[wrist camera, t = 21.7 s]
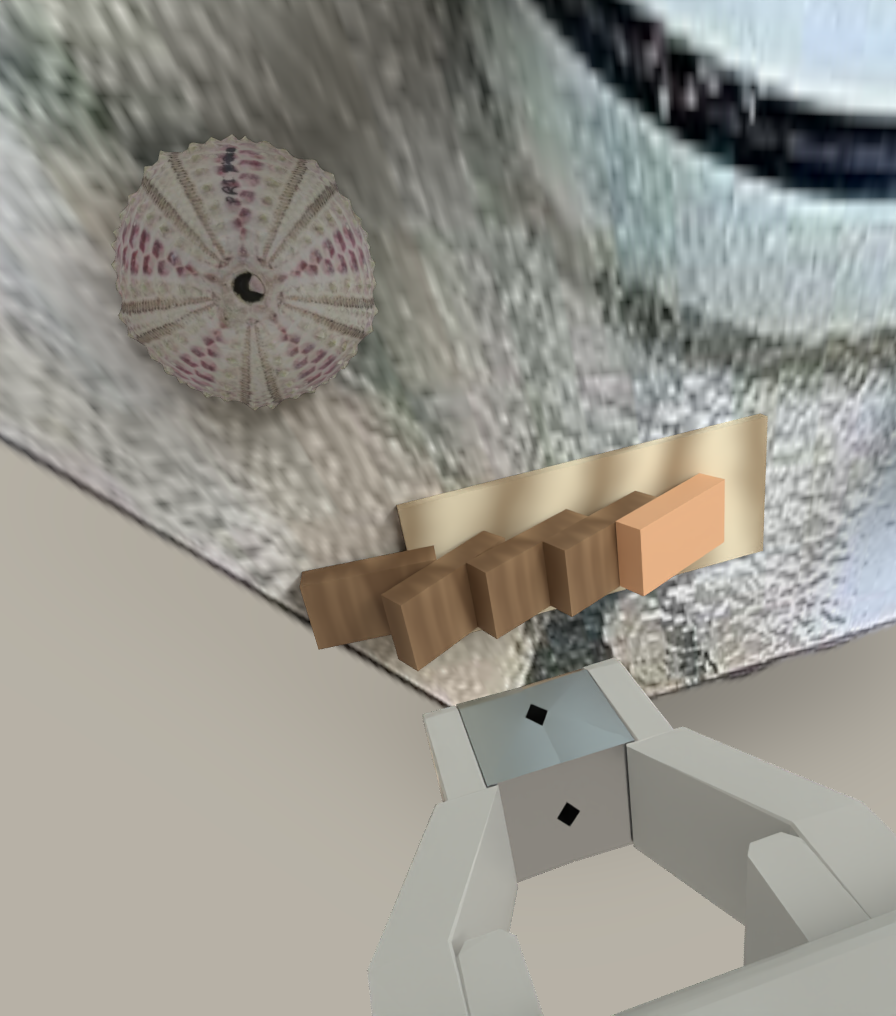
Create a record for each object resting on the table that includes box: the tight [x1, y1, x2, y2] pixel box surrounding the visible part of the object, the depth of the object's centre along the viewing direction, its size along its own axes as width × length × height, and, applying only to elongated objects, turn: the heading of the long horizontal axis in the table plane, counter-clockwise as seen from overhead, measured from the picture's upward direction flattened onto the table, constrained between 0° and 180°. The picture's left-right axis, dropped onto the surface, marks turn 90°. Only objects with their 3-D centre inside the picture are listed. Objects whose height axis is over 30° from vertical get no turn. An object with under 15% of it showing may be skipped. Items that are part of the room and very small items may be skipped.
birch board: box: [396, 414, 767, 633], centre depth 48 cm, size 27×11×1 cm, turn 100°
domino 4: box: [543, 491, 657, 617], centre depth 45 cm, size 2×5×9 cm
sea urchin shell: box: [111, 135, 378, 410], centre depth 33 cm, size 13×14×8 cm
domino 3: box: [466, 509, 588, 639], centre depth 44 cm, size 2×5×9 cm
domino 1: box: [300, 545, 437, 649], centre depth 45 cm, size 2×5×9 cm
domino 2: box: [381, 531, 505, 671], centre depth 43 cm, size 2×5×9 cm
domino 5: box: [615, 473, 725, 596], centre depth 46 cm, size 2×5×9 cm
